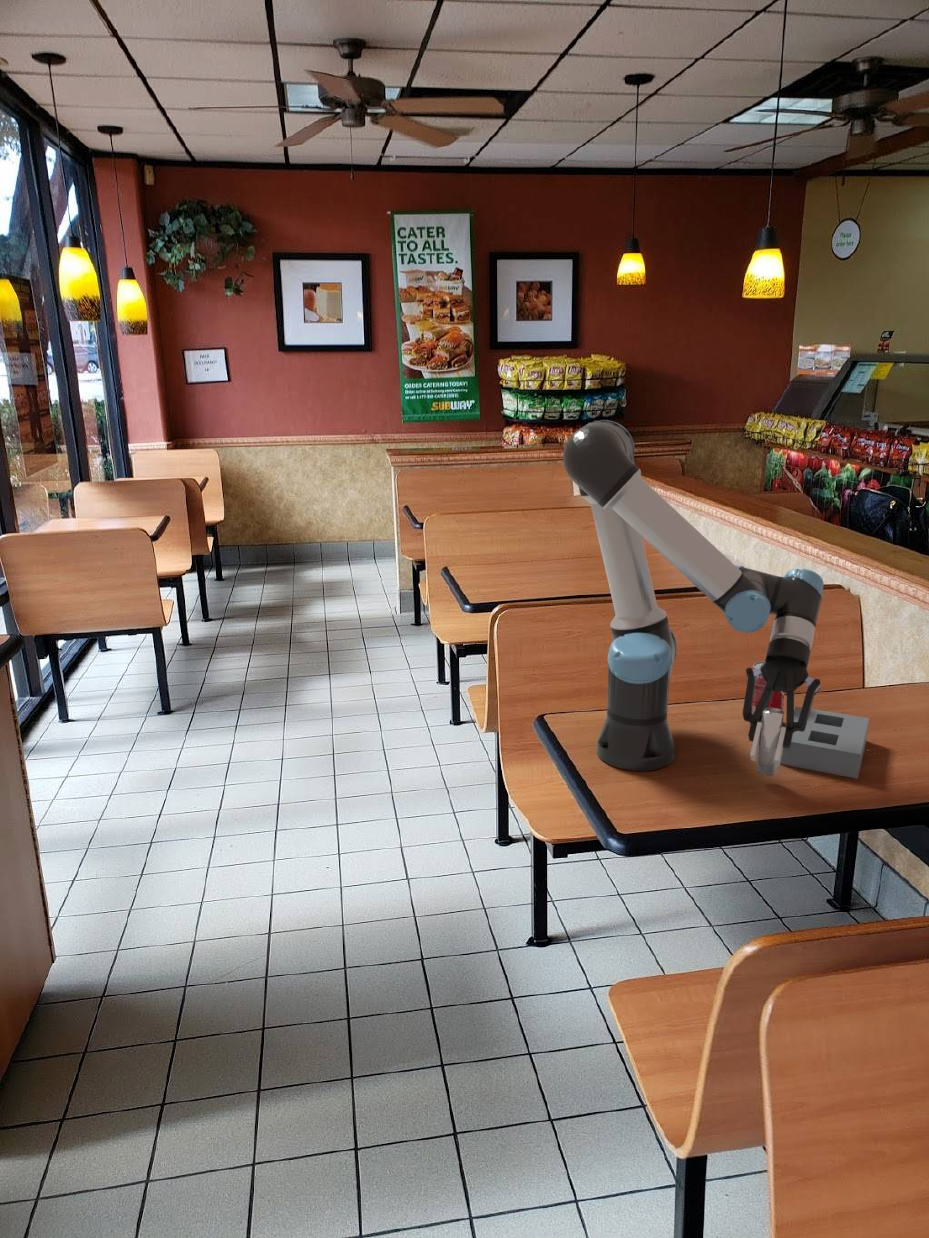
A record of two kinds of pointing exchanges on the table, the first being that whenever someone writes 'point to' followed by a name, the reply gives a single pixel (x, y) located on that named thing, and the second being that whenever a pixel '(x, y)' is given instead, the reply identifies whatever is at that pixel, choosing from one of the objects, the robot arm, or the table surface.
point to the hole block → (828, 743)
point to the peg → (769, 741)
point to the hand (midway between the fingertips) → (764, 760)
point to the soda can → (760, 684)
